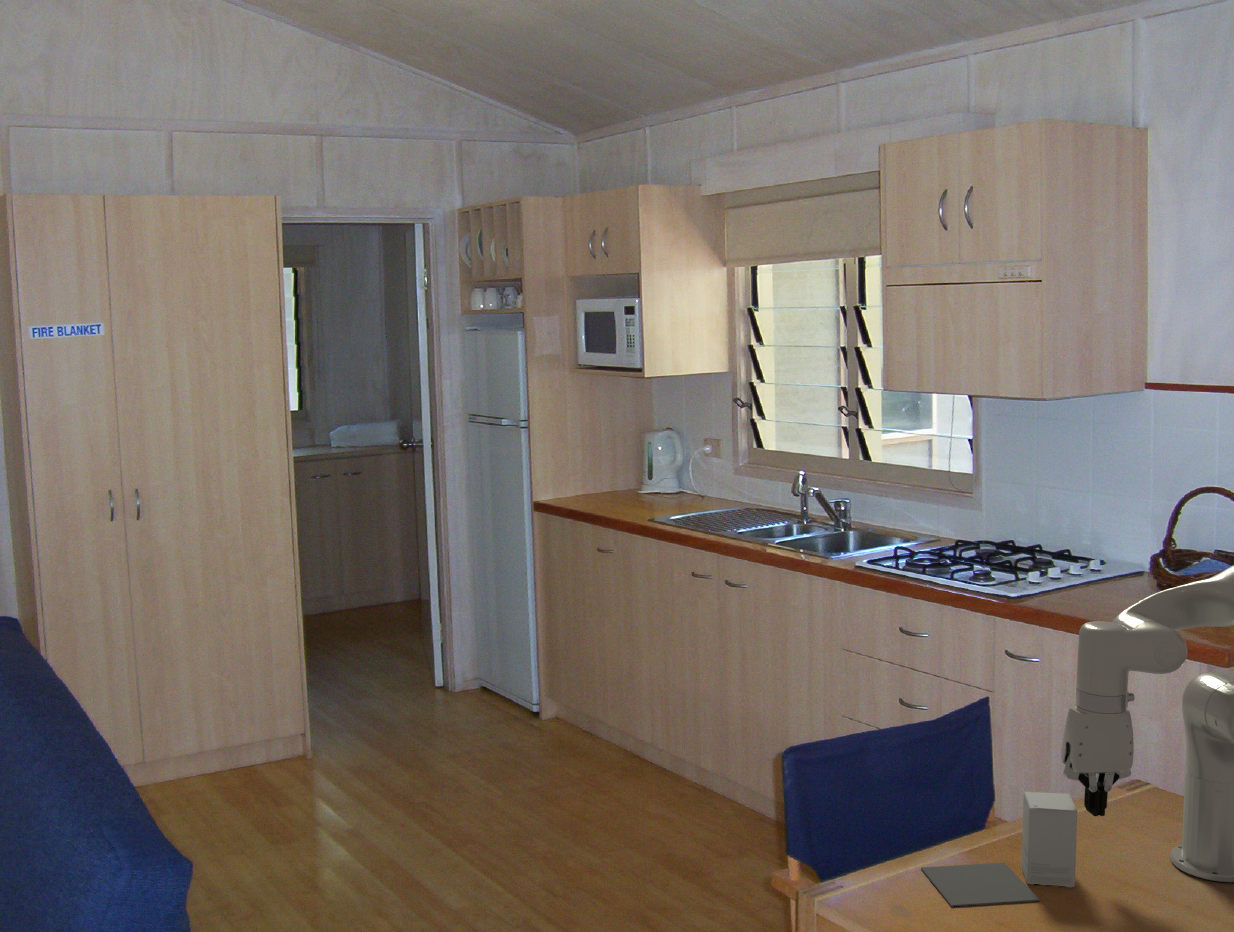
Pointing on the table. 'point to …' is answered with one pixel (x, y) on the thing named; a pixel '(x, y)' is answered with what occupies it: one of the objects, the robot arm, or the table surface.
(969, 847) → the table surface
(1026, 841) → the supplement box
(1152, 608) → the robot arm
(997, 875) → the mat
